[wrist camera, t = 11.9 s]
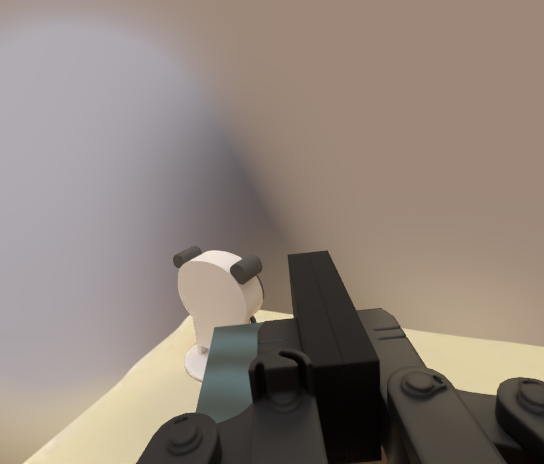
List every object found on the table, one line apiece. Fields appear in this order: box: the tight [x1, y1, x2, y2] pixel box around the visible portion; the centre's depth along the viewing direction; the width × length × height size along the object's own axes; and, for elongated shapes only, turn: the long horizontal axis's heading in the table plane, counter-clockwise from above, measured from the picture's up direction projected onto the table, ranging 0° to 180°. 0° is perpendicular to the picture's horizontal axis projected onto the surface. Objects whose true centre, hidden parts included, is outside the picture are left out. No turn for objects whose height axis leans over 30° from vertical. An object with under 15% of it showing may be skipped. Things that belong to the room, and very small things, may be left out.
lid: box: [196, 322, 264, 424], centre depth 33 cm, size 14×17×1 cm
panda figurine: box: [173, 246, 264, 381], centre depth 50 cm, size 12×11×15 cm
